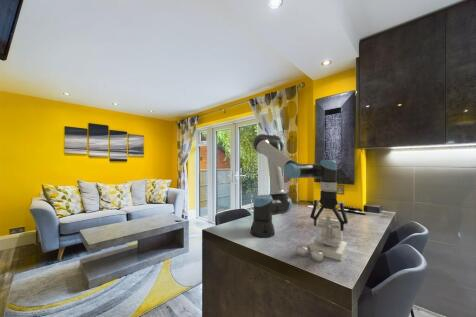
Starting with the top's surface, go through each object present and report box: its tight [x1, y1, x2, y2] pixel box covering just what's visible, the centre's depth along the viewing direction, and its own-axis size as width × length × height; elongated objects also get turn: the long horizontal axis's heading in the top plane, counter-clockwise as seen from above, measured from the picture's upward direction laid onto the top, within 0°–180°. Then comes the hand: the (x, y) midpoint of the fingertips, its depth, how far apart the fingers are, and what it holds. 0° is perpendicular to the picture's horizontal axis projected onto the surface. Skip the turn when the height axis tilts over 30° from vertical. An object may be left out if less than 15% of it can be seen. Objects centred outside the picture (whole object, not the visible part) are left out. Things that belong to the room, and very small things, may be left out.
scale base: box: [309, 217, 348, 261], centre depth 102 cm, size 14×18×14 cm
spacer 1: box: [296, 244, 309, 258], centre depth 96 cm, size 5×5×4 cm
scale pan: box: [313, 233, 342, 247], centre depth 101 cm, size 11×11×1 cm
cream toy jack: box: [318, 215, 339, 237], centre depth 101 cm, size 10×10×10 cm
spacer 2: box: [311, 249, 324, 264], centre depth 91 cm, size 5×5×4 cm
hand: (328, 234), depth 101 cm, fingers closed on cream toy jack, 10 cm apart
